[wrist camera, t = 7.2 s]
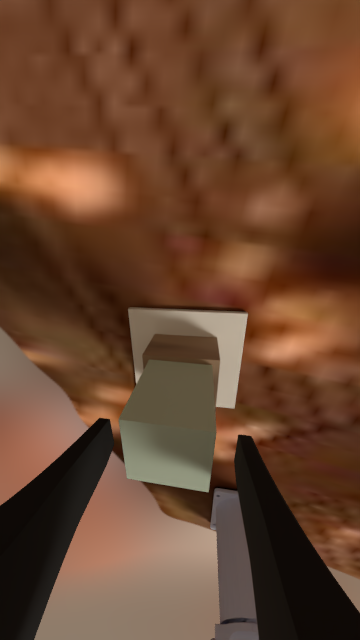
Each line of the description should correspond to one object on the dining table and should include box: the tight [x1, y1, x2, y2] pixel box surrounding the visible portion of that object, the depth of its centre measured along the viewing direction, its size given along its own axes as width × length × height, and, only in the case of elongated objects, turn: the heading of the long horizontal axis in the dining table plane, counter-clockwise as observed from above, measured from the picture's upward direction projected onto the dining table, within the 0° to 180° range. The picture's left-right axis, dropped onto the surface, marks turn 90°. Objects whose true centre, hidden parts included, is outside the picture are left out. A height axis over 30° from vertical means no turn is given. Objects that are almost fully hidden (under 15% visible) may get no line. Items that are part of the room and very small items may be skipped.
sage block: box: [119, 359, 216, 492], centre depth 11 cm, size 4×4×5 cm
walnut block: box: [142, 334, 220, 411], centre depth 15 cm, size 6×6×4 cm
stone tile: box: [128, 307, 248, 408], centre depth 17 cm, size 10×10×1 cm
